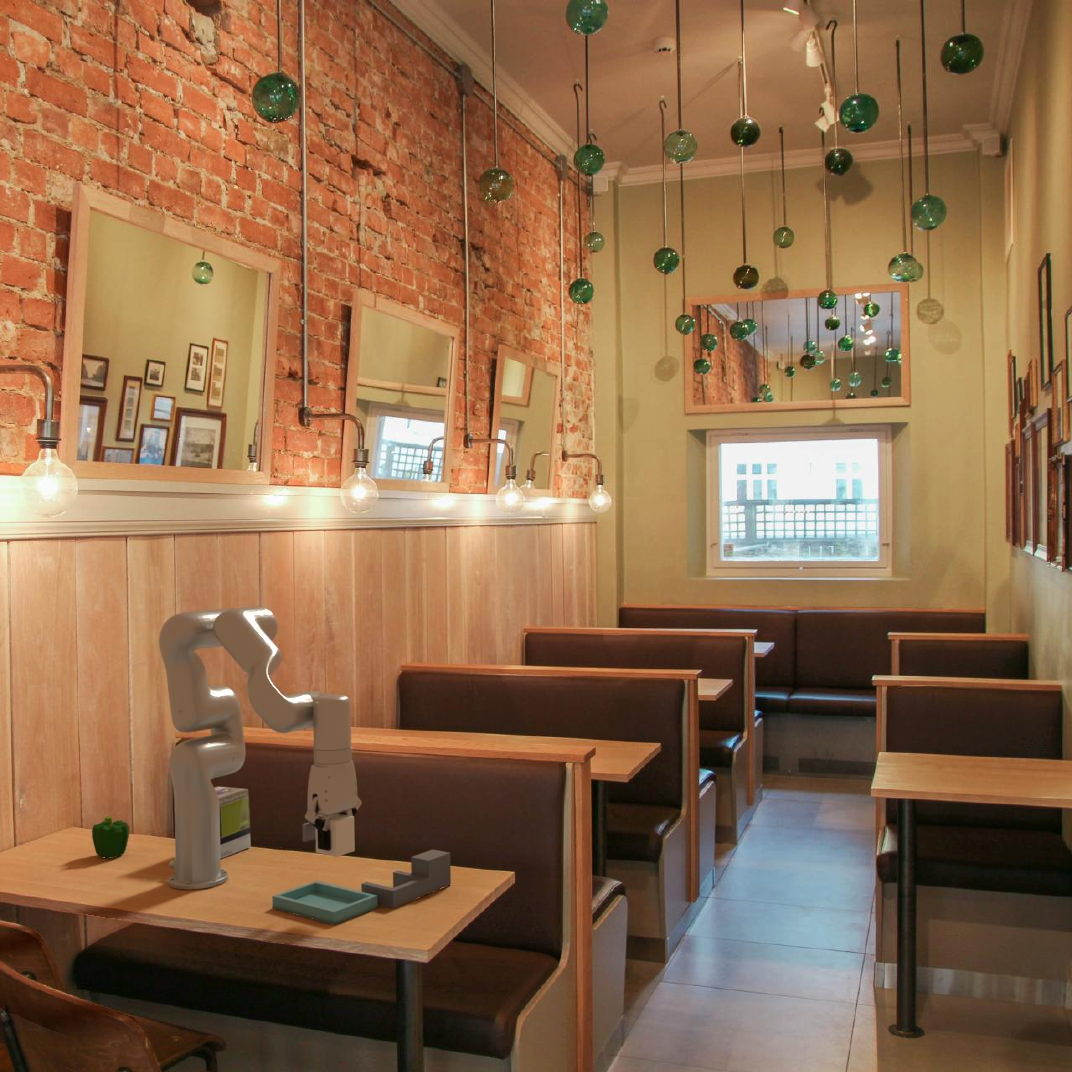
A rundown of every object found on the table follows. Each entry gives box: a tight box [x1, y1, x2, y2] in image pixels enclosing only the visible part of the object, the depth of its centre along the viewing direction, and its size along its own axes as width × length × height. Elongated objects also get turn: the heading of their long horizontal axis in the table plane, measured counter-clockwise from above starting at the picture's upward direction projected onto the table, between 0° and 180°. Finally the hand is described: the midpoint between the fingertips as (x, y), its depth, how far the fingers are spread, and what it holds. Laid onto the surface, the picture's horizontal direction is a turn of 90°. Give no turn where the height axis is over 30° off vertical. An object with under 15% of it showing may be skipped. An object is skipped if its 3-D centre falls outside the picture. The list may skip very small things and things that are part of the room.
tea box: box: [213, 786, 252, 860], centre depth 268 cm, size 15×10×15 cm
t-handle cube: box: [302, 813, 356, 858], centre depth 227 cm, size 10×5×7 cm, turn 54°
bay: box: [360, 849, 452, 909], centre depth 236 cm, size 9×18×7 cm, turn 144°
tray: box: [271, 880, 379, 926], centre depth 227 cm, size 18×12×2 cm, turn 54°
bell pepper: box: [91, 815, 130, 859], centre depth 268 cm, size 8×8×10 cm
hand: (334, 845), depth 225 cm, fingers closed on t-handle cube, 5 cm apart
